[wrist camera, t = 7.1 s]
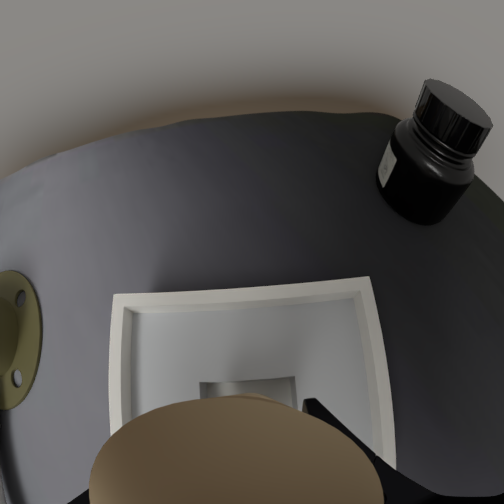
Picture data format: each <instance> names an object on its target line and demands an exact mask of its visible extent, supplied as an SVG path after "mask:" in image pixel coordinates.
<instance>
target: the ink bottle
mask: <svg viewBox="0 0 504 504" xmlns="http://www.w3.org/2000/svg"><path fill="white" fill-rule="evenodd" d="M415 107H416V108H415V110H414V112H413V117H412V118H407V119H404V120H402V121H400V122H399V123H398V124H397V125H396V127H395V129H394V131H393V133H392V136H391V138H390V141H389V143H388V146H387V148H386V151H385V153H384V155H383V158H382V160H381V163H380V165H379V168H378V170H377V174H376V181H377V185H378V188H379V190H380V192H381V194H382V195H383V197H384V198H385V200H386V201H387V202H388V203H389V204H390V205H391V207H392V208H394V209H395V210H396V211H397V212H398V213H399V214H401V215H402V216H403V217H405V218H406V219H408V220H410V221H412V222H414V223H417V224H421V225H433V224H436V223H438V222H440V221H441V220H443V219H444V218H445V217H446V215H447V214H448V213H449V212H450V210H451V209H452V208H453V206H454V205H455V204H456V203H457V201H458V200H459V199H460V197H461V196H462V195H463V193H464V192H465V191H466V189H467V188H468V187H469V185H470V184H471V182H472V180H473V177H474V165H473V161H472V158H473V157H474V156H475V155H476V154H477V152H478V151H479V149H480V148H481V146H482V144H483V142H484V141H485V139H486V137H487V136H488V134H489V132H490V130H491V129H492V127H493V124H492V122H491V119H490V117H488V115H487V114H486V113H485V111H484V110H483V109H482V108H481V107H480V106H479V105H478V104H477V103H476V102H475V101H474V100H472V99H471V98H470V97H468V96H466V95H465V94H464V93H463V92H461V91H459V90H458V89H456V88H454V87H452V86H451V85H448V84H446V83H443V82H441V81H439V80H433V79H428V80H425V81H424V84H423V87H422V90H421V92H420V95H419V98H418V100H417V103H416V106H415Z"/></svg>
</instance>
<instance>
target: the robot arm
mask: <svg viewBox="0 0 504 504" xmlns="http://www.w3.org/2000/svg"><path fill="white" fill-rule="evenodd" d="M302 412H304V413H306V414H308V415H311V416H313V417H315V418H318V419H320V420H322V421H324V422H325V423H327V424H329V425H331V426H333V427H334V428H336V429H338V430H339V431H340V432H342V433H343V434H344V435H346V436H347V437H348V438H350V439H351V440H352V441H353V442H354V443H355V444H356V445H357V446H358V447H359V448H360V449H361V450H362V451H363V452H364V453H365V454H366V456H367V457H368V459H369V460H370V461H371V463H372V464H373V466H374V468H375V470H376V472H377V474H378V476H379V479H380V482H381V486H382V490H383V497H384V504H504V493H502V494H500V495H497V496H490V497H454V496H444V495H439V494H436V493H434V492H432V491H430V490H428V489H426V488H424V487H423V486H421V485H419V484H417V483H416V482H414V481H412V480H411V479H409V478H407V477H406V476H404V475H403V474H401V473H400V472H398V471H397V470H395V469H394V468H392V467H391V466H390V465H389V464H387V463H386V462H385V461H384V460H382V459H381V458H380V457H379V456H378V455H376V453H374V452H373V451H372V450H371V449H370V448H369V447H368V446H366V445H365V444H364V443H363V442H362V441H361V440H360V439H359V438H358V437H357V436H355V435H354V434H353V433H352V432H351V431H350V430H349V429H348V428H347V427H346V426H345V425H343V424H342V423H341V422H340V421H339V420H338V419H337V418H336V417H335V416H334V415H333V414H332V413H331V412H330V411H329V410H328V409H327V408H326V407H325V406H324V405H322V404H321V403H320V402H319V401H318V400H317V399H316V398H306V399H304V400H303V406H302ZM67 504H90V499H89V489H87V490H86V491H85V492H83V493H82V494H81V495H79V496H78V497H76V498H75V499H73V500H72V501H71V502H69V503H67Z"/></svg>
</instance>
